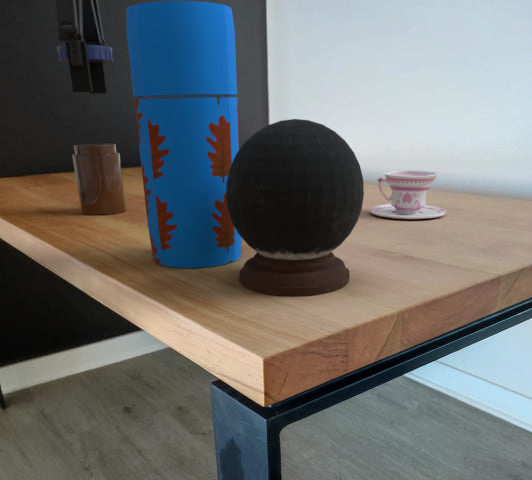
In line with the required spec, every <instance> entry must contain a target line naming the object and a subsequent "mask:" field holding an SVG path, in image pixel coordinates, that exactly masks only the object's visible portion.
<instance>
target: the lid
mask: <svg viewBox="0 0 532 480" xmlns="http://www.w3.org/2000/svg"><path fill="white" fill-rule="evenodd" d="M86 46H87V54H88V61H89V63H104V64H106V63H113V62H114V61H115V58H114V57H115V56H114V52H113V47H112V46H108V45H107V46H99V45H86ZM56 54H57V60H58V62H63V63H69V60H68V54H67V47H66V44H65V45H57V47H56Z"/></svg>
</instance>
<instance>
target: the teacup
mask: <svg viewBox="0 0 532 480" xmlns="http://www.w3.org/2000/svg"><path fill="white" fill-rule="evenodd" d="M382 174H383V176H384V177H385V178H382V177H380V178H377V181H378V189H379V192H380V194H381V195H382V196H383V198H384V199H385V200H386V201H388V202H390V203H389V204H388V203H386V204H379V205H375V206H372V207H370V208H369V213H370V214H371V215H373V216H374V215H375V216H377V217H382V218H388V219H396V220H397V219H398V220H425V219H434V218H439V217H443V216H445V215H446V214H447V210H446V209H445V208H442V207H440V206H436V205H429V204H426V203H427V193H428V191H429V189H430V188H431V184H432V183H433V182H434V181H435V180H436V179H437V177H438V176H439V175H440V173H439V172H436V171H430V170H429V171H428V170H393V171H385V172H383V173H382ZM383 183H387V184H388V185H389V188H390V190H391V195H390V196H389V197H388V196H387V195H386V194H385V192H384V190H383V187H382V184H383Z"/></svg>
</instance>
